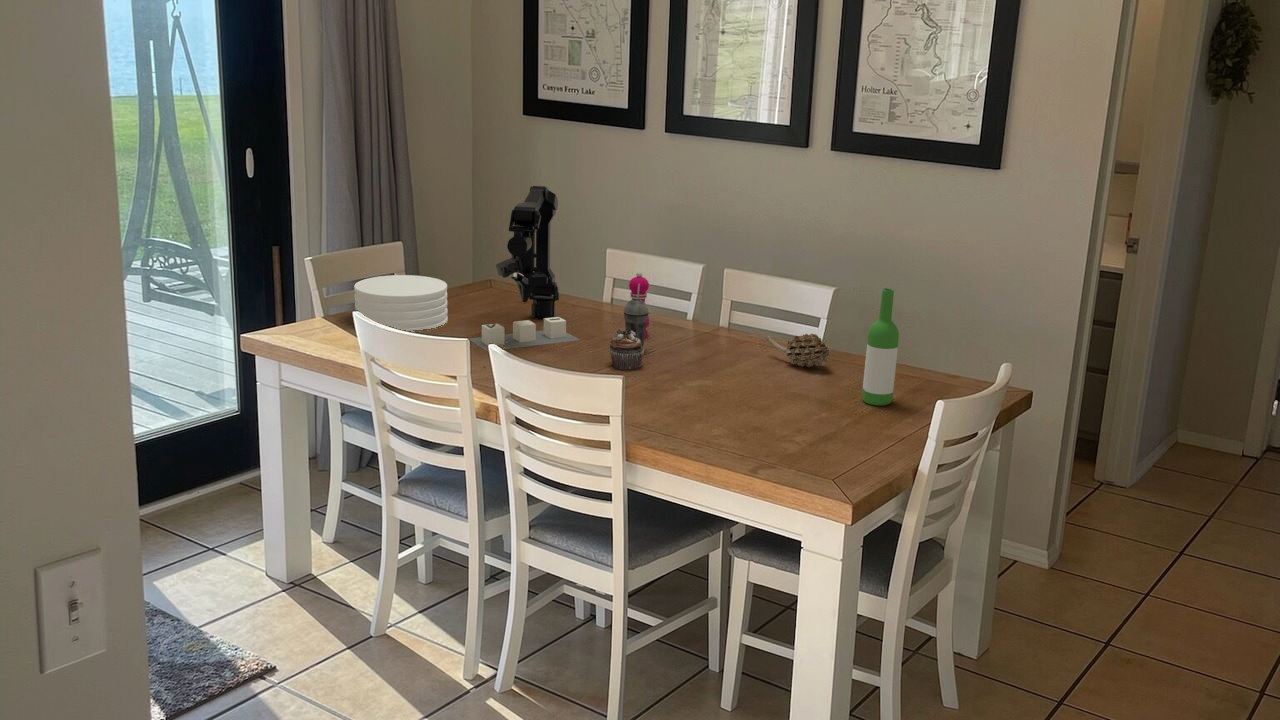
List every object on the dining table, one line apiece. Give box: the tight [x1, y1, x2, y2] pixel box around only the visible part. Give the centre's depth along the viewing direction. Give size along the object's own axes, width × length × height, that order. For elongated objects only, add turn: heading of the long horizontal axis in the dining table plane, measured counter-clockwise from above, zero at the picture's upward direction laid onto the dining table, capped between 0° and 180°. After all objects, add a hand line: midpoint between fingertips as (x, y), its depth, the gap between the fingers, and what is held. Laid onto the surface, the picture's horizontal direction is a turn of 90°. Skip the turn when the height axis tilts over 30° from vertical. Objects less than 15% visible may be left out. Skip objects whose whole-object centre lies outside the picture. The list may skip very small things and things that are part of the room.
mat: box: [469, 329, 580, 352], centre depth 341 cm, size 30×14×1 cm, turn 121°
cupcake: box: [609, 329, 645, 370], centre depth 321 cm, size 10×10×10 cm
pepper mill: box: [628, 271, 650, 339], centre depth 349 cm, size 7×7×20 cm
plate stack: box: [353, 274, 449, 333], centre depth 357 cm, size 28×28×12 cm
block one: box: [543, 316, 567, 339], centre depth 346 cm, size 5×5×5 cm
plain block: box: [512, 319, 537, 342], centre depth 341 cm, size 5×5×5 cm
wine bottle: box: [861, 287, 900, 407], centre depth 296 cm, size 8×8×30 cm
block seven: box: [481, 323, 506, 345], centre depth 336 cm, size 5×5×5 cm
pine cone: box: [766, 333, 831, 368], centre depth 329 cm, size 22×10×10 cm, turn 50°
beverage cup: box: [623, 284, 650, 348], centre depth 333 cm, size 7×7×20 cm
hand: (524, 302), depth 338 cm, fingers closed
